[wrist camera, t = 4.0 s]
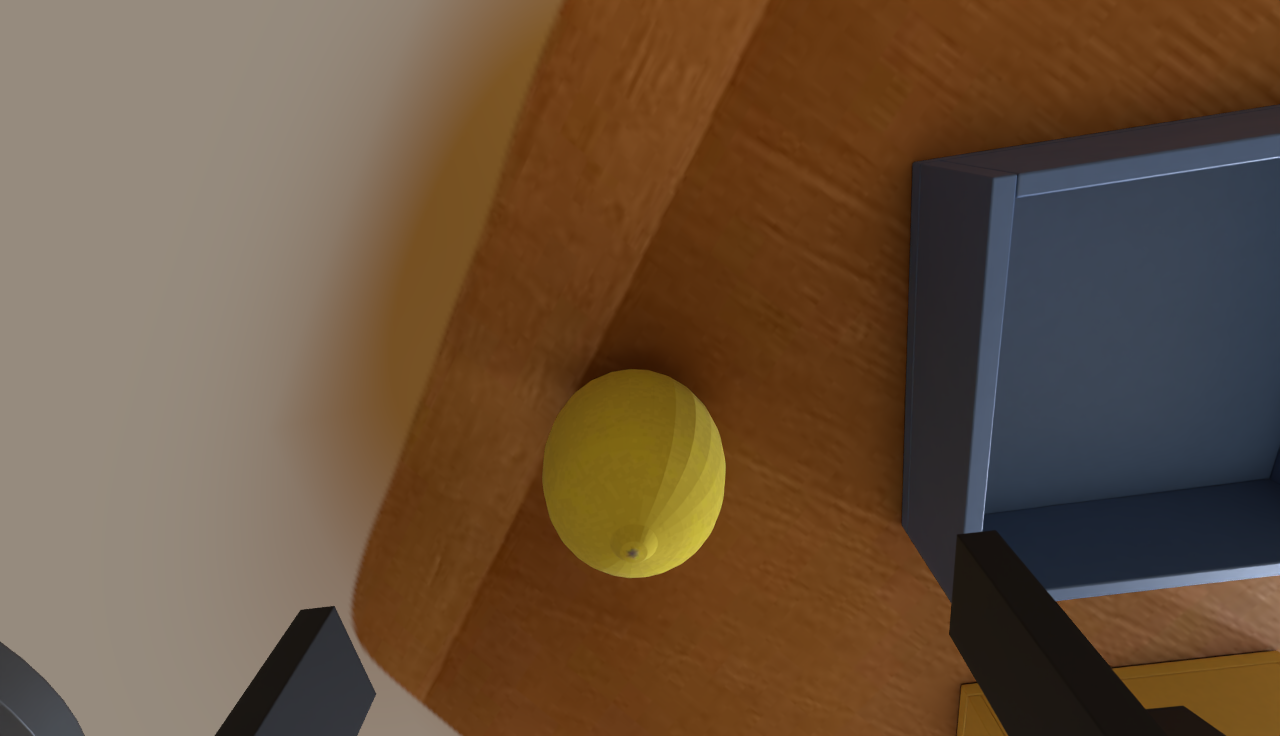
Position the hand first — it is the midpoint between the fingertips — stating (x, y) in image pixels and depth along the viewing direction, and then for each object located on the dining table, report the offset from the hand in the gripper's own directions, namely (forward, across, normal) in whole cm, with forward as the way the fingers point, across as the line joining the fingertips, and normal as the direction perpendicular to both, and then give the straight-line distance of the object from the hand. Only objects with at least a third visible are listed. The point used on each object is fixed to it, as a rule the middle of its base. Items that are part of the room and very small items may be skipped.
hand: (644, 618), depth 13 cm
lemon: (+10, 0, 0) cm, 10 cm away
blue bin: (+10, +17, 0) cm, 19 cm away
